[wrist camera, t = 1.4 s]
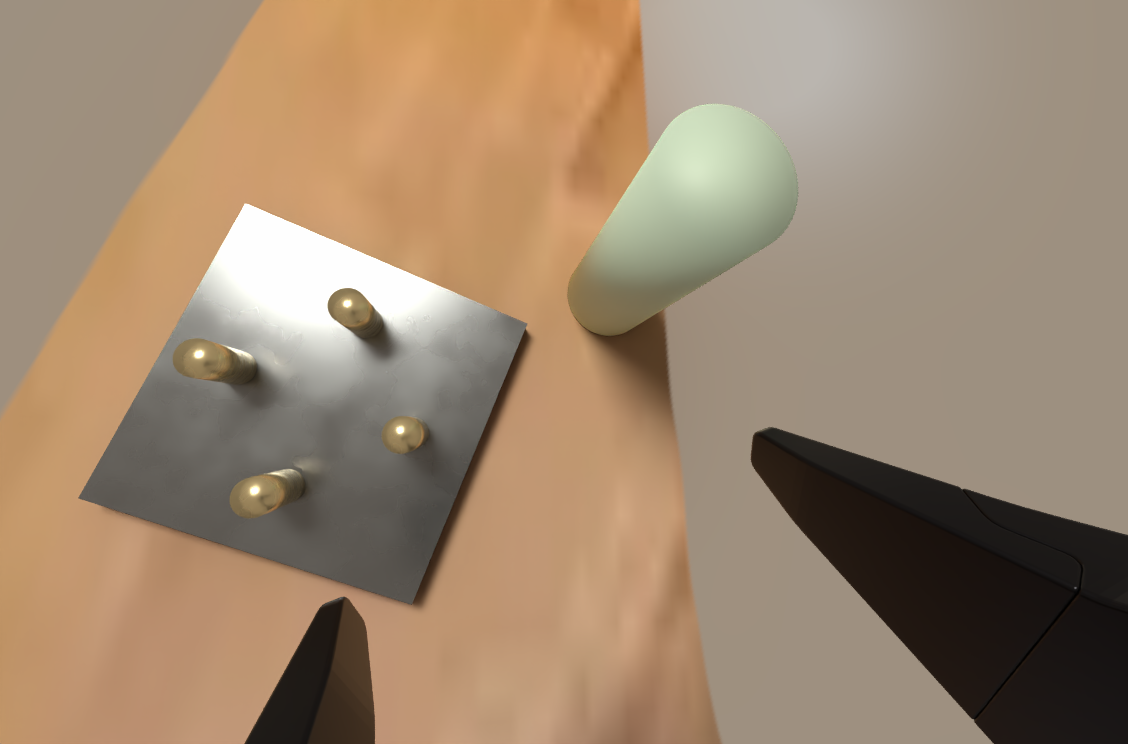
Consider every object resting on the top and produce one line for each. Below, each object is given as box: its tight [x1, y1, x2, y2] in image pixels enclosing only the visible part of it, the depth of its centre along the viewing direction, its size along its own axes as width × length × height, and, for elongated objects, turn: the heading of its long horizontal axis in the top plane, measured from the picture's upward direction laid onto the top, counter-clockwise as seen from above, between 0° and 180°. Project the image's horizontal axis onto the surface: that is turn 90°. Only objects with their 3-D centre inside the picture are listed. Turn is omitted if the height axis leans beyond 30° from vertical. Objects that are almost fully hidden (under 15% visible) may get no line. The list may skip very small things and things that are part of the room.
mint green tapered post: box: [568, 104, 798, 336], centre depth 18 cm, size 4×4×12 cm
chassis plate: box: [79, 204, 527, 605], centre depth 19 cm, size 14×14×4 cm
